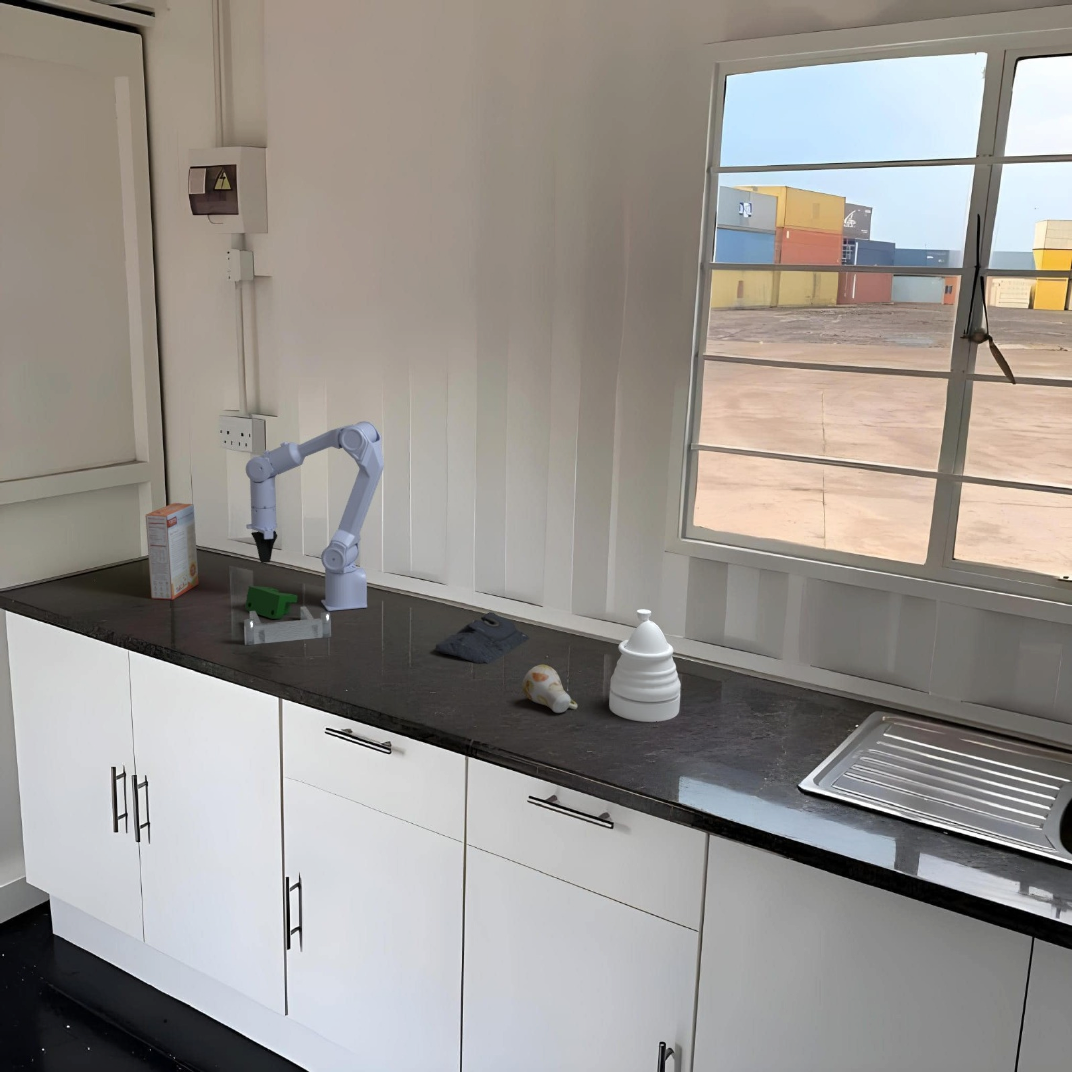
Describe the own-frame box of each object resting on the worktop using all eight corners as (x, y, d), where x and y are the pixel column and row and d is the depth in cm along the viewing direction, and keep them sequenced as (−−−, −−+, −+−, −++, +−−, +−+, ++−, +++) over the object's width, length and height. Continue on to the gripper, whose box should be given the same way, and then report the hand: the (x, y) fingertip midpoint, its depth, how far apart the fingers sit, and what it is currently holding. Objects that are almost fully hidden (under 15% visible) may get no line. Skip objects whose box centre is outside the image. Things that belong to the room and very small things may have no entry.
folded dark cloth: (422, 655, 216) (423, 634, 215) (473, 627, 235) (473, 607, 234) (487, 668, 210) (488, 646, 209) (534, 638, 229) (534, 617, 228)
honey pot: (597, 699, 194) (601, 607, 190) (657, 691, 199) (662, 601, 195) (629, 725, 183) (635, 628, 178) (692, 716, 188) (698, 621, 184)
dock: (318, 617, 237) (317, 596, 236) (331, 637, 224) (331, 614, 223) (237, 625, 230) (236, 602, 229) (245, 645, 217) (244, 621, 216)
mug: (553, 722, 184) (530, 670, 185) (532, 725, 193) (511, 676, 193) (587, 705, 187) (565, 654, 188) (565, 709, 196) (544, 660, 197)
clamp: (287, 633, 240) (304, 600, 237) (267, 633, 235) (283, 600, 232) (261, 603, 246) (277, 571, 244) (240, 602, 241) (256, 570, 239)
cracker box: (176, 583, 261) (172, 502, 256) (199, 585, 260) (195, 503, 255) (148, 599, 247) (144, 513, 243) (172, 600, 246) (168, 514, 242)
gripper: (242, 501, 249) (243, 555, 252) (250, 513, 236) (252, 570, 239) (271, 499, 252) (273, 553, 255) (281, 511, 239) (283, 568, 242)
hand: (265, 561), depth 247 cm, fingers closed
